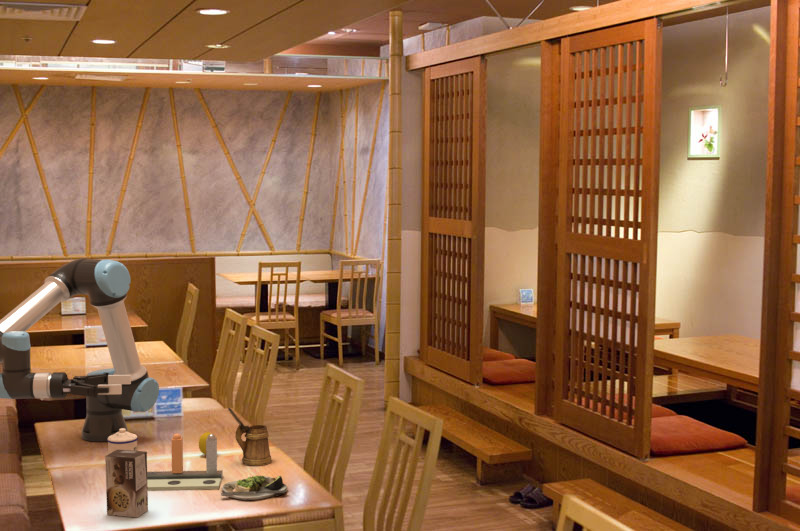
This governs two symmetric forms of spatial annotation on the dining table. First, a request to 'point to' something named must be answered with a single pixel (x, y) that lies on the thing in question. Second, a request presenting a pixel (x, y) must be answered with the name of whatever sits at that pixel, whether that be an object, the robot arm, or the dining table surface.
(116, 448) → the teacup with lid
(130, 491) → the coffee box
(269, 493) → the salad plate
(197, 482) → the hole board
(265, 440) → the wooden mug
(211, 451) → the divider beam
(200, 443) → the lemon
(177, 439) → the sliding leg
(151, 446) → the dining table surface
